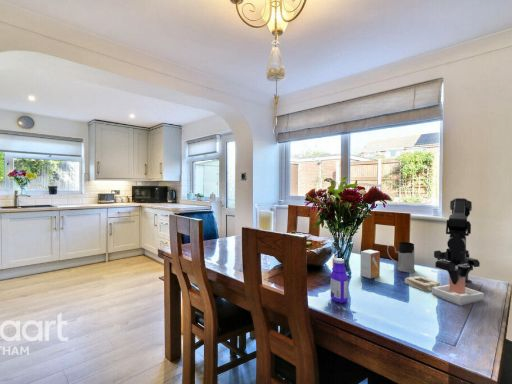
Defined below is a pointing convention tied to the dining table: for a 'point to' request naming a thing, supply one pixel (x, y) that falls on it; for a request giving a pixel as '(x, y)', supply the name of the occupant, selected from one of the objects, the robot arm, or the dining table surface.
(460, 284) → the block
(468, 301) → the parts tray
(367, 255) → the small box
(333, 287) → the bottle
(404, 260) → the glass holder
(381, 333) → the dining table surface
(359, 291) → the dining table surface
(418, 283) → the socket
